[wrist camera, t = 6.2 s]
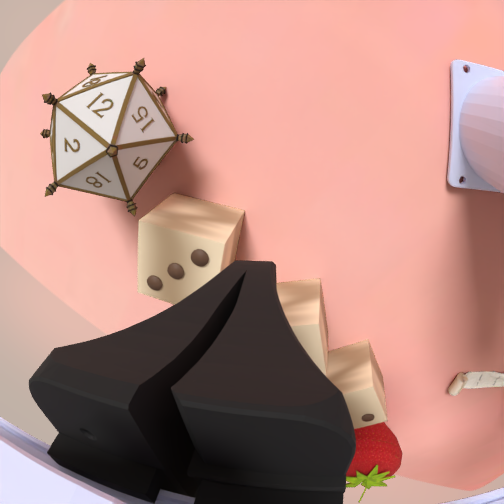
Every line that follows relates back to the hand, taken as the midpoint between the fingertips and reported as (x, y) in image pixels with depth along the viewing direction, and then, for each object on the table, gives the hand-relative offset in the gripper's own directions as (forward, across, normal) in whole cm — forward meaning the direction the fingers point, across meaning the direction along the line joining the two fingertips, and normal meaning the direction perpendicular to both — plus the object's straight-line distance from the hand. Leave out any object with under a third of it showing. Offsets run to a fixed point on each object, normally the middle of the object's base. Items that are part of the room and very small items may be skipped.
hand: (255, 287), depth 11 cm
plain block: (+11, 0, +9) cm, 14 cm away
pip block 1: (+11, +6, +3) cm, 12 cm away
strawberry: (+11, -8, +22) cm, 26 cm away
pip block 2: (+10, -5, +15) cm, 19 cm away
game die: (+11, +9, -5) cm, 15 cm away
